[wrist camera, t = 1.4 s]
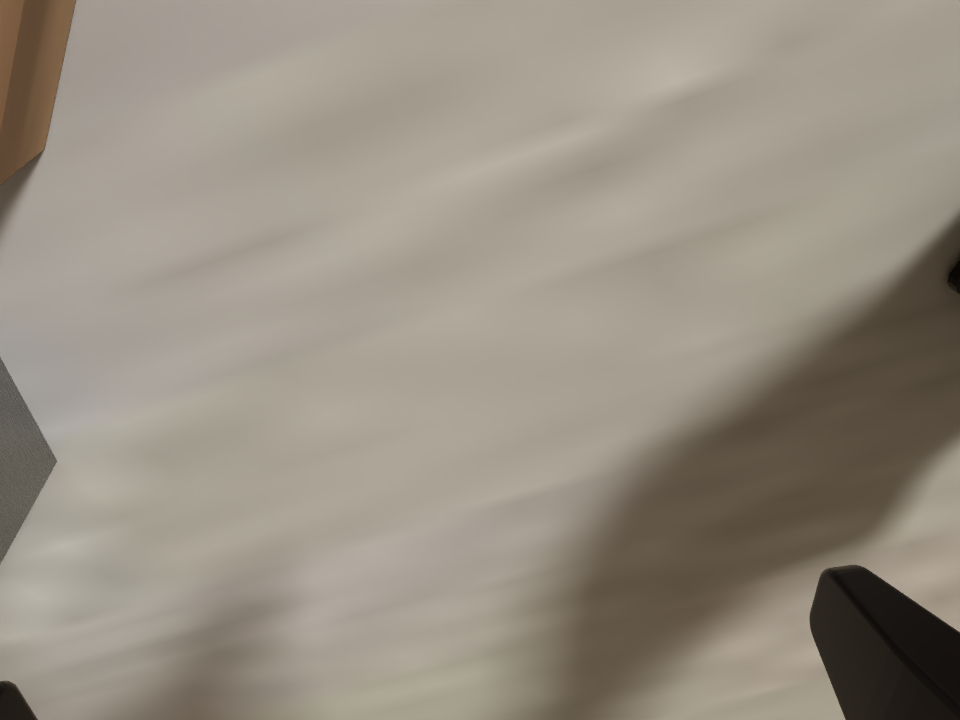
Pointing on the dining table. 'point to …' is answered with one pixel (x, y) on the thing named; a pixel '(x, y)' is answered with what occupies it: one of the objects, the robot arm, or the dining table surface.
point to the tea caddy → (19, 460)
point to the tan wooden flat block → (29, 75)
